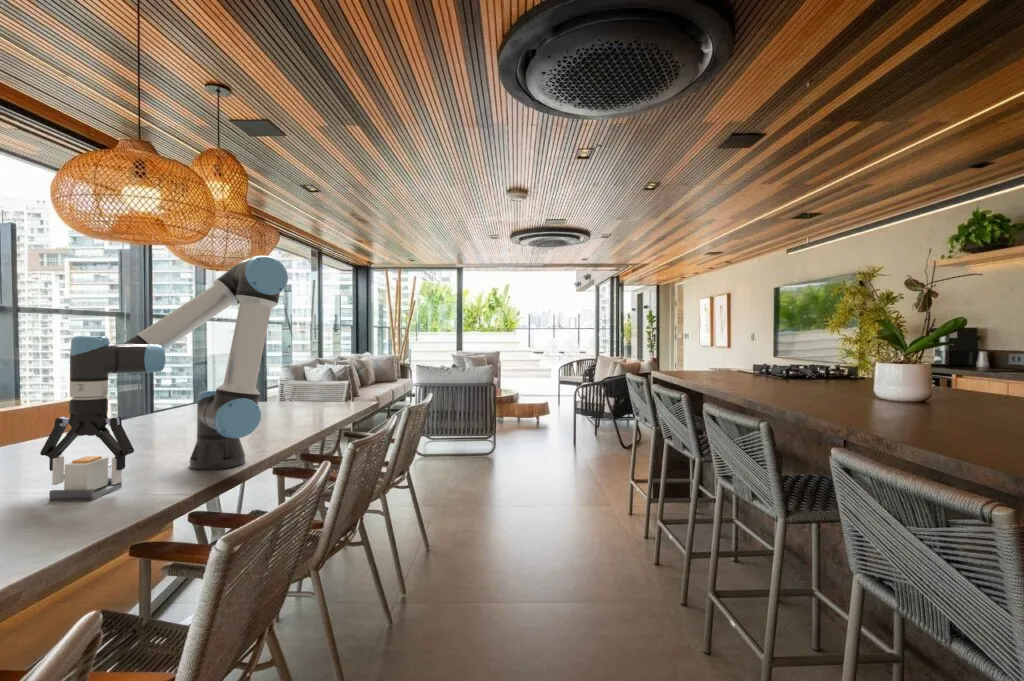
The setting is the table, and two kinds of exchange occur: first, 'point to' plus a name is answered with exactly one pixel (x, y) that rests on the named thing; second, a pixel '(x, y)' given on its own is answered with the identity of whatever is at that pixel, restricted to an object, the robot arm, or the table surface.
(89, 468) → the block
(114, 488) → the dark grey tray
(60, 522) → the table surface
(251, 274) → the robot arm
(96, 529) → the table surface
